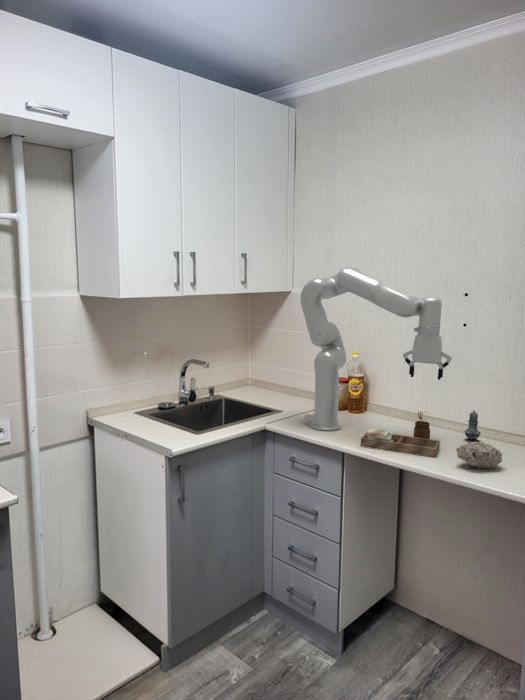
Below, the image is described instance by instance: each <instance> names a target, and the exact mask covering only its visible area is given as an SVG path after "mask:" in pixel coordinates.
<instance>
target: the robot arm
mask: <svg viewBox="0 0 525 700" xmlns="http://www.w3.org/2000/svg"><path fill="white" fill-rule="evenodd" d="M346 293H350V294H354V295H355V296H357V297H360V298H362V299H364V300H366V301H369V302H370V303H371V304H373V305H375V306H378V307H379V308H380V309H383V310H385V311H387V312H389V313H392V314H393V315H396V316H398V317H401V318H411V317H419V318H418V326H417V327H414V329H413V331H414V332H416V333H417V334H415V336H414V340H413V345H412V346H413V347H412V349H411V350H408V351H406V352H404V353H403V354H402V356H403V358H404V361H405V362H406V364H407V365H408V367H409V369H408V370H409V371H408V372H409V375H410V378H413V377H414V376H415V363H420V364H431V365H437V366H438V367H439V368H438V370H437V371H438V372H437V381H438V380H439V381H440V380H441V378H443V375H444V369H445V368H446V367H447V366H449V364H450V363H451V361H452V360H453V357H452V356H451V355H448V354H447V353H445V352H443V339H442V336H441V335H440V330H441V318H442V316H441V315H442V306H443V305H442V302H443V301H442V299H440V298H438V297H418V296H413V295H412V296H411V295H410V296H407V295H405V294H402V293H400V292H397V291H395V290H393V289H391V288H389V287H388V286H387V285H385V284H384V283H383V281H381V280H379V279H377V278H375V277H373V276H369V275H367V274H365V273H363V272H362V271H361V270H360V269H357V268H355V267H344V268H341V269H340V270H339V271H338V272H337V273H336V274H334V275H331V276H328V277H316V278H315V277H314V278H313V279H310V280H309V281H307V283H306V284H305V285H304V286H303V287H302V289H301V293H300V298H299V300H300V301H299V302H300V306H301V309H302V313H303V316H304V320H305V323H306V324H305V325H306V328H307V331H308V335H309V339H310V342H311V344H313V345H314V346H315V347H319V348H320V349H321V351H319V352H318V353H317V354H316V356H315V358H314V362H313V365H314V366H313V368H314V380H315V381H314V408H313V414H308V413H305V414H304V419H305V420H307V421H310V423H309V426H310V428H312V429H314V430H317V431H326V432H327V431H328V432H331V431H338V430H340V429H341V428H342V423H340V422H338V420H339V418H338V417H339V395H340V378H339V376H340V375H339V370H340V369H342V368H343V367H344V366H345V365H346V362H347V353H346V348H345V346H344V342H343V340H342V336H341V333H340V330H339V328H338V327H337V325H336V324H334V323H333V322H331V321H329V320H328V317H327V313H326V310H325V308H324V305H323V304H322V301H323V300H326V299H327V300H328V299H332V298H335V297H337V296H341V295H343V294H346ZM409 356H411V360H410V358H409ZM442 357H443V358H444V359H446V361H445V362H444V363H442V360H443V359H442Z"/></svg>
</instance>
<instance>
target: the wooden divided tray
mask: <svg viewBox="0 0 525 700" xmlns="http://www.w3.org/2000/svg"><path fill="white" fill-rule="evenodd" d="M390 435H392V440H393V442H389V441H382V440H375V439H368V436H367V431H366V432H365V433H364V434H363V436H362V437H361V438H360V447H361V446H364V447H363V448H368V447H371V448H370V449H375V448H377V450H381V449H383V450H382V451H388V450H390V451H389V452H395V451H396V452H397V453H401V454H409V455H410V454H411V455H417V456H423V457H429V458H437V456H438V453H439V451H440V446H441V439H439V440H438V439H433V438H430V439H426V438H418V437H413V436H410V435H402V434H396V433H390Z"/></svg>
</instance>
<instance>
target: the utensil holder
mask: <svg viewBox="0 0 525 700" xmlns="http://www.w3.org/2000/svg"><path fill="white" fill-rule="evenodd" d="M417 412H418V413H417V414H418V415H417V416H418V420H416V421H415V422H414V425H415V426H414V427H413V436H412V437H418V438H426V439H431V428H430V426H431V425H430V423H429V422H428V421H427V420H428V418H429V416H428V412H426V411H419V410H418V411H417ZM423 413H424V414H426V415H425V416H426V417H424V414H423ZM424 419H425V420H424Z"/></svg>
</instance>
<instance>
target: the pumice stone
mask: <svg viewBox="0 0 525 700" xmlns="http://www.w3.org/2000/svg"><path fill="white" fill-rule="evenodd" d="M456 454H457V456H456V457H457V458H458V459H460V460H462V461H463V462H465V463H467V464H469V465H470V466H472V467H475V468H479V469H481V468H482V469H491V468H493V469H494V468H496V467H498V465H499V464H501V463H502V462H503V452H502V451H501V450H500V449H498V448H496V447H495V446H493V445H491V444H489V443H484V442H480V441H479V442H471V443H464V444H461V445H459V447H456Z"/></svg>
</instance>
